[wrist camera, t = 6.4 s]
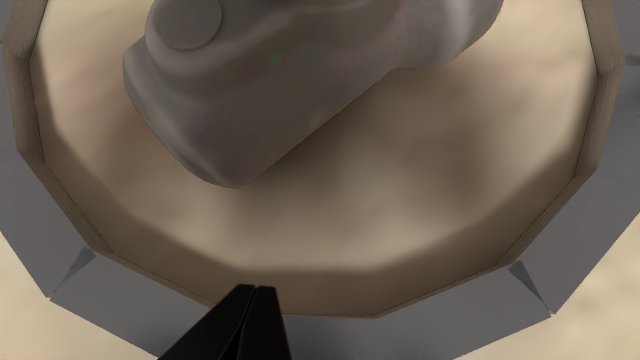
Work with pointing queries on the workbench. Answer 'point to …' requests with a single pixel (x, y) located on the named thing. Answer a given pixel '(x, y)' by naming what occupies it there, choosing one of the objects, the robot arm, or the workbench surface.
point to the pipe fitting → (278, 69)
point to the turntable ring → (320, 330)
